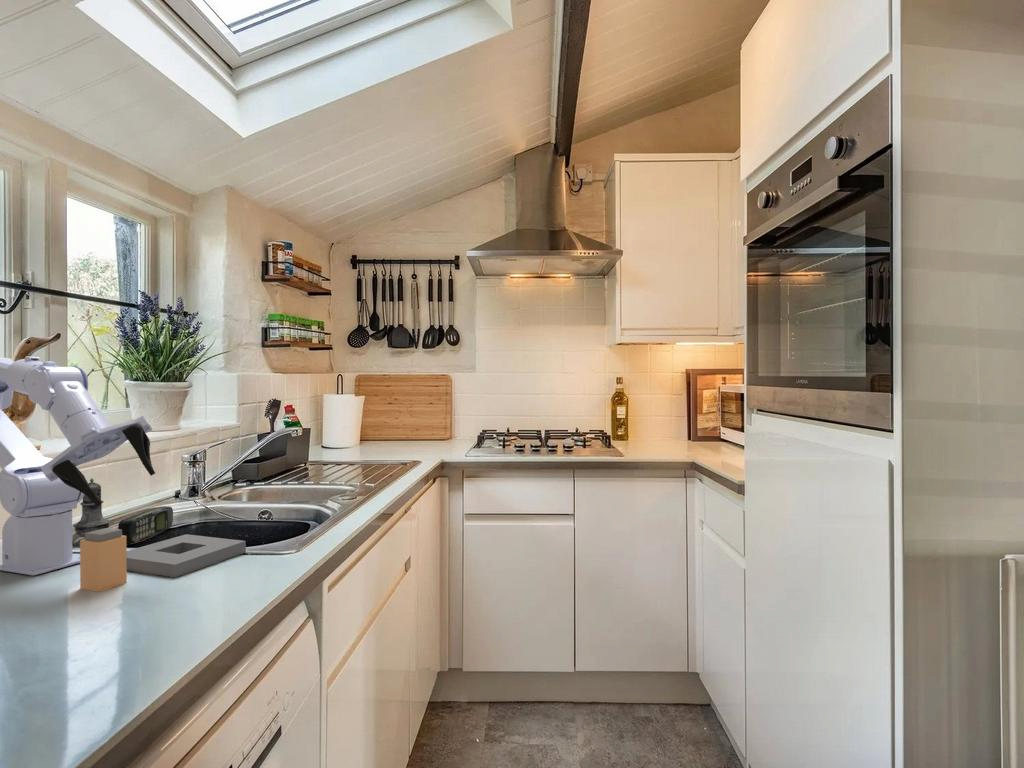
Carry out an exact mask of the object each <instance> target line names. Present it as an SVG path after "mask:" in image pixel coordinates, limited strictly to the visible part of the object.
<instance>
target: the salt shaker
mask: <svg viewBox="0 0 1024 768" xmlns="http://www.w3.org/2000/svg"><path fill="white" fill-rule="evenodd" d="M88 484H89V486H90V487H91V489H92V491H93V492H94V493H95V494H96V495H97V497H98V498H99V499H100V501H101V504H99V505H97V506H96V505H95V504H94V503H93V502H92V501H91V499H90V498H89V497H88V496H86V495H85V494H84V496H83V498H82V502H79V504H80V505H81V517H80V520H78V522H75V523H72V528H74V531H75V534H76V535H77V536H79V537H80V539H78V540H77V541H76V542H74V546H79V547H80V540H84V539H85V533H87V532H91V531H96V530H100V529H104V528H110V523H111V522H112V520H111V519H107V518H105V517H104V515H103V511H102V507H103V506H102V505H103V503H104V500H103V499H102V487H101V484H99V483H97V482H95V479H94V478H93V477H91V478H90V480H89V482H88Z"/></svg>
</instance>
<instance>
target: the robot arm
mask: <svg viewBox="0 0 1024 768" xmlns="http://www.w3.org/2000/svg"><path fill="white" fill-rule="evenodd" d="M40 360H41V358H40V357H38V356H29V355H27V356H25V357H24V358H22V359H21V358H20V359H17V360H16V361H14V360H13V359H12V358H9V357H0V469H1V471H0V504H1V506H2V508H3V509H4V511H6V512H7V513H9V515H10V516H9V517H8V518H7V519H6V521H5V522H4V523H3V526H2V530H1V531H2V532H1V545H2V546H1V553H2V554H1V555H2V556H1V557H2V558H1V564H0V571H2V572H3V571H4V572H9V573H16V574H21V575H27V576H38V575H41V574H44V573H49V572H51V571H55V570H58V569H62V568H65V567H69V566H73V565H76V564H80V556H73V510H74V509H77V508H78V504H80V503H81V501H83V496H84V494H85V495H86V496H88V497H89V498H90V499H91V501H92V502H93V503H94V504H95V505H96V506H97V505H99V504H101V501H100V499H99V498H98V497H97V495H96V494H95V493H94V492H93V491H92V489H91V487H90V486H89V484H88V483H89V482H88V480H87V478H86V477H85V475H84V474H83V472H82V471H81V470H80V469H78V466H80V465H83V464H87V463H90V462H92V461H96V460H99V459H102V458H104V457H106V456H108V455H109V454H111V453H112V452H114V451H115V450H116V449H118V448H119V447H121V445H123V444H124V443H126V441H128V442H129V444H130V445H131V447H132V449H134V450H135V452H136V453H137V456H138V458H139V460H140V461H141V464H142V465H143V467H144V468H145V469H146V471H147V473H148V474H149V476H153V475H156V471H155V470H154V467H153V464H152V460H151V454H150V453H151V452H150V451H151V450H150V449H151V441H150V438H149V437H148V435H147V433H150V432H152V431H153V428H152V426H151V424H150V423H149V421H147V419H146V417H145V416H144V415H142V416H140V417H137V418H134V419H131V420H128V421H124V422H122V423H117V424H115V425H114V424H113V425H111V424H110V423H109V421H108V420H107V418H106V417H105V415H104V414H103V412H102V410H100V408H99V407H98V405H97V404H96V402H95V401H94V399H93V398H92V396H91V394H90V393H89V392H88V391H89V379H88V375H87V373H86V372H85V370H84V368H82V367H79V366H78V365H71V366H58V365H57V363H56V362H54V361H51V360H49V361H43V362H42V361H40ZM14 392H16V393H20V394H23V395H27V396H28V400H30V402H32V403H33V404H36V405H39V407H40V408H41V409H42V410H44V411H45V410H46V411H48V412H49V414H50V416H51V417H52V419H53V420H54V422H55V424H56V426H58V428H59V430H60V432H62V435H63V436H64V438H65V439H66V441H67V443H68V444H69V445H70V446H69V447H67V448H66V449H64V450H63V451H62V452H60V453H59V454H57V456H56V457H54V458H52V457H46V456H44V455H43V454H42V453H41V452H40V451H39V450H38V449H37V447H35V446H34V445H33V443H32V442H31V441H30V440H29V438H27V437H26V436H25V434H24V433H23V432H22V431H21V430H20V428H18V426H16V424H15V423H14V422H13V421H12V420H11V418H9V417H8V416H7V414H6V413H5V412H4V410H5V409H7V408H9V407H11V406H12V403H13V397H14Z"/></svg>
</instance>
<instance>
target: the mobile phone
mask: <svg viewBox="0 0 1024 768" xmlns="http://www.w3.org/2000/svg"><path fill="white" fill-rule="evenodd" d="M173 522H174V509H173V507H171V506H159V507H155V508H151V509H148V510H145V511H143V512H140V513H137V514H133V515H131V516H128V517H127V518H124V519H121V521H119V523H118V525H117V527H118V528H117V529H121V530H122V535H123V536H126V546H130V545H132V544H135V543H138V542H140V541H143V540H145V539H148V538H150V537H153V536H156V535H158V534H162V533H164V532H166V531H167V530H169V528H171V527H172V525H173Z"/></svg>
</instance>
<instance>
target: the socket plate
mask: <svg viewBox="0 0 1024 768" xmlns="http://www.w3.org/2000/svg"><path fill="white" fill-rule="evenodd" d="M246 543H247V542H246V540H241V539H233V538H232V539H230V538H222V537H212V536H205V535H204V536H203V535H195V534H182V535H179V536H176V537H172V538H169V539H165V540H161V541H157V542H154V543H151V544H147V545H143V546H140V547H136V548H132V549H129V550H126V554H127V572H134V573H141V572H142V574H147V573H149V575H154V574H155V575H156V576H161V575H162V576H163V577H168V578H178V577H181V576H183V575H186V574H189V573H192V572H195V571H198V570H200V569H203V568H206V567H208V566H211V565H215V564H216V563H219V562H222V561H225V560H228V559H231V558H234V557H236V556H240V555H243V554H245V553H246V552H247V547H246V546H247V545H246ZM162 576H161V577H162Z"/></svg>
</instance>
